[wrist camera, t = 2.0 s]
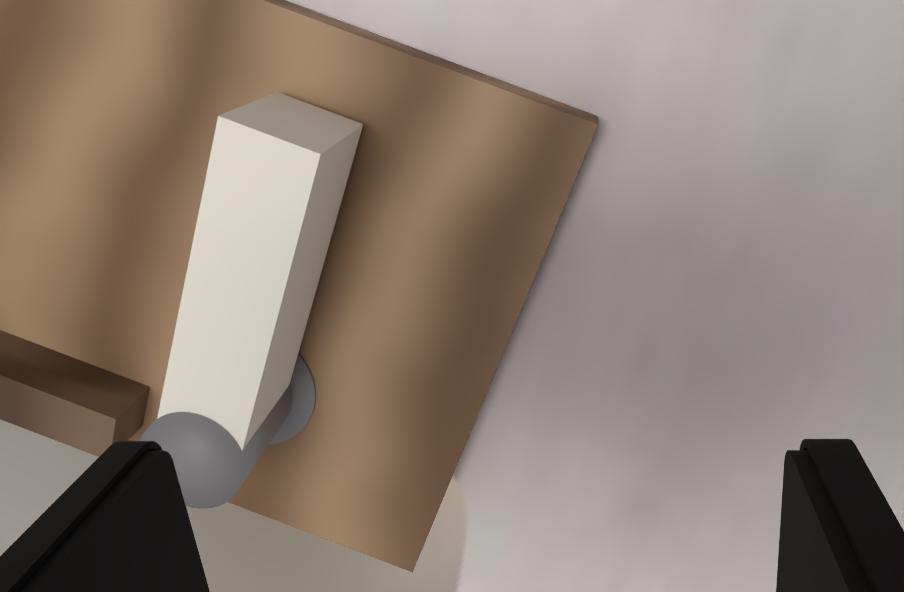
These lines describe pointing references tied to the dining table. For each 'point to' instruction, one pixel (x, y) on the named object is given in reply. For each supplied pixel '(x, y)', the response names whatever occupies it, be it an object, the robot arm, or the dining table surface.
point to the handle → (250, 288)
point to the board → (346, 263)
